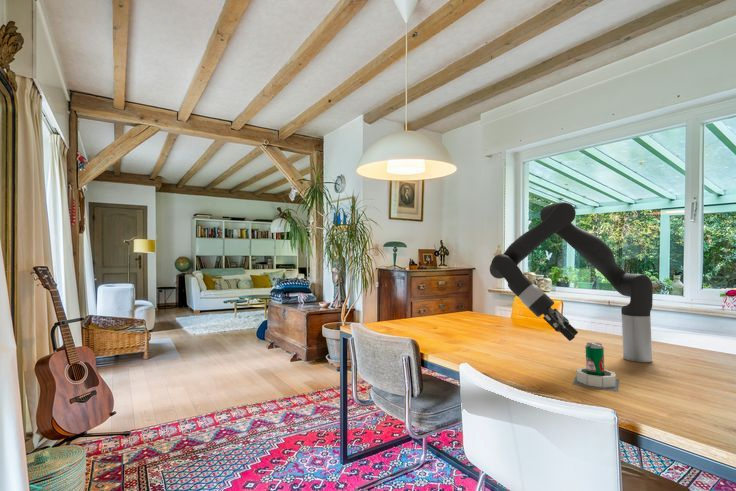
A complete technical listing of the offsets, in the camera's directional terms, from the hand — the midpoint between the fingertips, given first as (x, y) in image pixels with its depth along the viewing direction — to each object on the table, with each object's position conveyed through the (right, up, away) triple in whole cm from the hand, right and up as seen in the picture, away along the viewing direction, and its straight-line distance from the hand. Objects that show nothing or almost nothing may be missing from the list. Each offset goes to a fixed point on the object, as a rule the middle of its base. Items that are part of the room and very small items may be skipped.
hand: (574, 336), depth 124 cm
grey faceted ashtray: (+5, -13, -4) cm, 15 cm away
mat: (+5, -14, -4) cm, 15 cm away
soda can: (+5, -14, -3) cm, 15 cm away
